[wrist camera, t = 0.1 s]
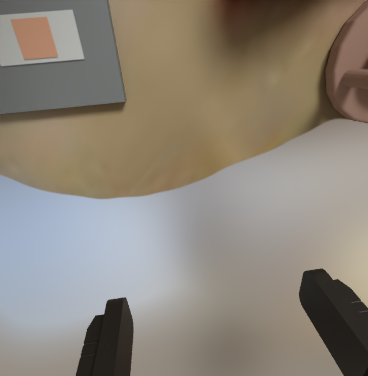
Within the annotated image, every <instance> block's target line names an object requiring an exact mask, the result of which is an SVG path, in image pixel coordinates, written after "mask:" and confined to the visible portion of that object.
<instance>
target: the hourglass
mask: <svg viewBox="0 0 368 376" xmlns="http://www.w3.org/2000/svg"><path fill="white" fill-rule="evenodd" d="M325 75H326V93H327V95H328V97H329V99H330V102H331V104H332V106H333V108H334V109H335V110H337V111H338V112H339V113H340V114H342V115H343V116H344V117H345V118H347V119H350V120H354V121H359V122H364V123H368V0H367V1H366V2H364V3H363V5H362V6H361V7H360V8H359V9H358V10H357V11H356V12H355V13H354V14H353V15H352V16H351V17H350V18H349V19H348V20H347V22H346V23H345V24H344V26H343V28H342V30H341V31H340V33H339V35H338V37H337V38H336V40H335V42H334V44H333V46H332V48H331V52H330V55H329V59H328V63H327V67H326V71H325Z"/></svg>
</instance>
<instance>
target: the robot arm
mask: <svg viewBox="0 0 368 376" xmlns="http://www.w3.org/2000/svg"><path fill="white" fill-rule="evenodd" d="M299 297H300V302H301V305H302V307H303V308H304V310H305V312H306V313H307V315H308V317H309V318H310V320H311V322H312V323H313V325H314V327H315V328H316V330H317V332H318V333H319V335H320V337H321V338H322V340H323V342H324V343H325V345H326V347H327V348H328V350H329V352H330V353H331V355H332V357H333V358H334V360H335V361H336V363H337V365H338V367H339V368H340V370H341V372H342V373H343V375H344V376H368V308H367V307H366V305H365V304H364V303H363V302H361V300H360V298H359V297H358V296H357V295H356V294H355V293H354V292H353V290H352V289H351V288H350V287H348V286H347V285H345V284H344V283H342V282H341V281H340V280H338V279H337V280H333V279H332V278H331V277H330V276H329V274H328V273H327V272H326V271H325V270H324V269H315V270H309V271H305V272H304V273H303V277H302V282H301V287H300V291H299ZM132 345H133V319H132V315H131V312H130V309H129V305H128V302H127V299H126V298H118V299H111V300H108V301H107V304H106V309H105V314H104V315H97V316H95V318H94V319H93V321H92V322H91V324H90V325H89V327H88V329H87V332H86V337H85V340H84V346H83V349H82V353H81V358H80V361H79V365H78V369H77V373H76V376H130V371H131V358H132V357H131V356H132Z"/></svg>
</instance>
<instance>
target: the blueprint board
mask: <svg viewBox="0 0 368 376" xmlns="http://www.w3.org/2000/svg"><path fill="white" fill-rule="evenodd" d="M118 102H126V95H125V90H124V84H123V79H122V73H121V68H120V62H119V57H118V51H117V46H116V41H115V35H114V30H113V24H112V19H111V13H110V8H109V2H108V0H0V114H7V113H17V112H27V111H37V110H47V109H58V108H68V107H78V106H88V105H98V104H108V103H118Z"/></svg>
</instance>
